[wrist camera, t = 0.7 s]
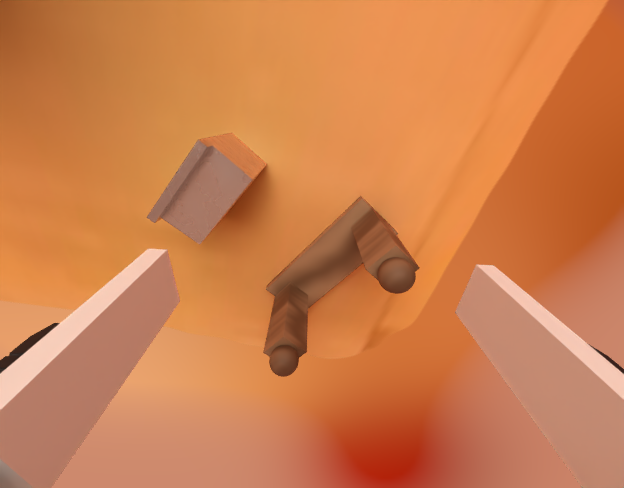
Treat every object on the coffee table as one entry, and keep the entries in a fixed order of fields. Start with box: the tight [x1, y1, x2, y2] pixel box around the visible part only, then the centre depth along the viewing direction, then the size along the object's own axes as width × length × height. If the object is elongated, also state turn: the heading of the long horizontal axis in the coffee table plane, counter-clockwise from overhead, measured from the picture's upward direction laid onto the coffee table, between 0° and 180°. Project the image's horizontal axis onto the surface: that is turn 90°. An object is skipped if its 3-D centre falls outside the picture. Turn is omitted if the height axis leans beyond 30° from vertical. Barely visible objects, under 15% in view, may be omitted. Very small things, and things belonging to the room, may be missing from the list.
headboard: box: [264, 196, 419, 376], centre depth 29 cm, size 7×19×14 cm, turn 137°
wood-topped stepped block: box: [147, 133, 267, 244], centre depth 26 cm, size 5×9×9 cm, turn 137°
